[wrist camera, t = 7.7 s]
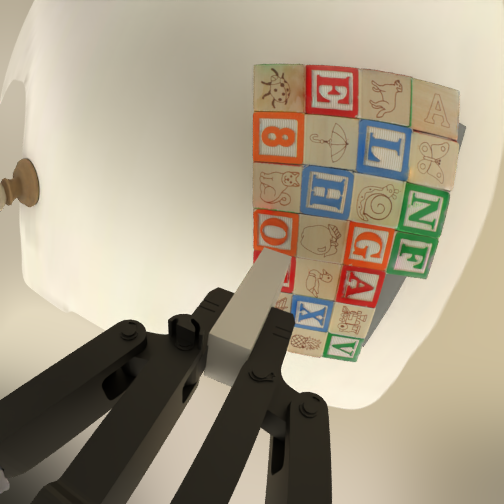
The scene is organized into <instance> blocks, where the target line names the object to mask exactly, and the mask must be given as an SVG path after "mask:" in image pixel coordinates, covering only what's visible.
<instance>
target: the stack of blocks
mask: <svg viewBox="0 0 504 504" xmlns="http://www.w3.org/2000/svg"><path fill="white" fill-rule="evenodd" d="M459 102H460V93H459V91H457V90H455V89H451V88H448V87H445V86H441V85H438V84H434V83H430V82H426V81H422V80H418V79H414V78H412V77H410V76H405V75H399V74H394V73H389V72H383V71H378V70H371V69H359V68H351V67H340V66H325V65H303V64H260V65H254V96H253V108H254V114H253V208H254V210H253V218H254V230H253V234H254V241H253V242H254V245H253V247H254V257H253V264H254V263H255V261H256V259H257V258H258V256H259V255H260V253H261V252H262V250H263V249H264V247H265V248H268V249H271V250H274V251H277V252H280V253H283V254H286V255H288V256H291V257H292V258H291V261H290V264H289V267H288V270H287V273H286V276H285V280H284V283H283V286H282V289H281V292H280V295H279V298H278V300H277V302H276V305H275V308H278V309H280V310H283V311H286V312H289V313H292V314H293V315H294V320H295V326H294V329H293V332H292V336H291V339H290V342H289V345H288V348H287V351H289V352H292V353H297V354H302V355H307V356H312V357H318V358H321V357H325V358H330V359H337V360H343V361H351V362H356V361H357V359H358V356H359V354H360V351H361V348H362V346H363V343H364V340H365V337H366V335H367V332H368V330H369V327H370V324H371V321H372V318H373V315H374V312H375V309H376V304H377V302H378V299H379V295H380V292H381V289H382V286H383V282H384V279H385V275H386V274H393V275H400V276H407V277H414V278H422V279H427V277H428V274H429V271H430V268H431V265H432V262H433V258H434V255H435V252H436V249H437V245H438V242H439V241H438V238H439V237H440V235H441V232H442V228H443V224H444V221H445V217H446V212H447V208H448V204H449V200H450V191H452V189H453V185H454V179H455V173H456V167H457V159H458V152H459V144H458V143H457V138H458V125H459Z"/></svg>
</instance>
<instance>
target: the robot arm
mask: <svg viewBox="0 0 504 504" xmlns="http://www.w3.org/2000/svg"><path fill="white" fill-rule="evenodd" d="M291 258H292V257H291V256H288V255H286V254H283V253H280V252H277V251H274V250H271V249H268V248H265V247H264V249H263V250H262V252H261V253H260V255H259V256H258V258H257V259H256V261H255V263H254V264H253V266H252V267H251V269H250V270H249V272H248V273H247V275H246V277H245V278H244V280H243V281H242V283H241V284H240V286H239V287H238V289H237V291H236V292H235V293H232V292H230V291H227V290H224V289H222V288H219V287H218V288H216V289H214V290H212V291H210V292H209V293H208V294H207V296H206V297H205V298H204V300H203V301H202V302H201V303H200V305H199V307H197V309H196V310H195V311H194V313H193V314H192V315H189V314H178V315H175V316H173V317H171V318H170V319H169V320H168V332H169V334H166V335H164V334H156V333H151V332H146V329H145V327H144V326H143V325H142V324H141V323H140V322H138V321H135V320H123V321H121V322H119V323H117V324H115V325H114V326H112V327H111V328H109V329H108V330H106V331H105V332H103V333H102V334H100V335H98V336H97V337H95V338H94V339H93V340H91V341H89V342H88V343H86V344H84V345H83V346H81V347H80V348H78V349H77V350H75V351H74V352H72V353H71V354H69V355H68V356H66V357H65V358H63V359H61V360H60V361H58V362H57V363H55V364H54V365H53V366H51V367H49V368H48V369H46V370H45V371H43V372H42V373H40V374H39V375H38V376H36V377H34V378H33V379H31V380H30V381H28V382H27V383H25V384H24V385H22V386H21V387H19V388H18V389H16V390H15V391H13V392H12V393H10V394H9V395H8V396H6V397H4V398H3V399H1V400H0V493H2V492H3V491H5V490H8V489H9V482H8V480H7V479H6V478H10V477H15V476H18V475H20V474H23V473H24V472H26V471H28V470H30V469H31V468H33V467H34V466H36V465H37V464H38V463H39V462H41V461H43V460H44V459H45V458H47V457H48V456H50V455H51V454H52V453H54V452H55V451H56V450H58V449H59V448H61V447H62V446H63V445H65V444H66V443H67V442H69V441H70V440H71V439H72V438H74V437H75V436H76V435H78V434H79V433H81V432H82V431H83V430H85V429H86V428H87V427H88V426H90V425H91V424H92V423H94V422H95V421H96V420H97V419H99V418H100V417H102V416H103V415H104V414H105V413H107V412H108V411H109V410H111V411H110V412H109V413H108V415H107V416H106V417H105V419H104V420H103V421H102V422H101V424H100V425H99V426H98V428H97V429H96V430H95V432H94V433H93V434H92V436H91V437H90V438H89V440H88V441H87V443H86V444H85V445H84V447H83V448H82V449H81V451H80V452H79V453H78V455H77V456H76V457H75V459H74V460H73V461H72V463H71V464H70V466H69V467H68V468H67V469H66V471H65V472H64V474H63V475H62V476H61V477H60V479H58V480H57V481H55V482H52V483H49V484H47V485H46V486H44V487H43V488H42V489H41V490H40V491H39V493H38V494H37V496H36V497H35V498H34V500H33V501H32V503H31V504H126V503H127V501H128V500H129V498H130V496H131V495H132V493H133V492H134V490H135V489H136V487H137V485H138V484H139V482H140V481H141V479H142V477H143V476H144V474H145V473H146V471H147V469H148V468H149V466H150V464H151V463H152V461H153V460H154V458H155V456H156V455H157V453H158V451H159V450H160V448H161V446H162V445H163V443H164V442H165V440H166V438H167V437H168V435H169V433H170V432H171V430H172V428H173V427H174V425H175V423H176V421H177V420H178V418H179V417H180V415H181V413H182V412H183V410H184V408H185V407H186V405H187V403H188V402H189V400H190V398H191V397H192V395H193V393H194V391H195V390H196V388H197V386H198V383H199V378H200V376H201V374H202V373H203V371H204V375H205V376H207V377H209V378H211V379H214V380H216V381H218V382H221V383H223V384H226V385H228V386H231V387H232V388H231V390H230V392H229V394H228V396H227V398H226V400H225V402H224V404H223V406H222V408H221V410H220V412H219V414H218V416H217V418H216V420H215V422H214V424H213V426H212V428H211V430H210V431H209V433H208V435H207V437H206V439H205V441H204V443H203V445H202V447H201V449H200V451H199V453H198V454H197V456H196V458H195V460H194V462H193V464H192V465H191V467H190V469H189V471H188V473H187V474H186V476H185V478H184V480H183V482H182V483H181V485H180V487H179V489H178V491H177V492H176V494H175V496H174V498H173V499H172V501H171V503H170V504H228V502H229V500H230V498H231V496H232V494H233V492H234V489H235V487H236V485H237V483H238V481H239V478H240V476H241V473H242V471H243V469H244V467H245V464H246V462H247V460H248V457H249V455H250V453H251V450H252V448H253V445H254V443H255V440H256V438H257V435H258V433H259V430H260V428H262V429H264V430H265V431H267V432H268V433H269V434H270V448H269V461H268V475H267V486H266V499H265V504H332V478H331V451H330V431H329V416H328V407H327V404H326V402H325V401H324V400H323V398H322V397H320V396H319V395H317V394H315V393H311V392H302V393H298V392H297V391H295V390H294V389H292V388H291V387H290V386H289V385H287V384H286V382H285V381H284V380H283V378H282V375H281V366H282V363H283V360H284V357H285V354H286V351H287V348H288V345H289V342H290V339H291V336H292V332H293V329H294V326H295V320H294V315H293V314H292V313H289V312H286V311H283V310H280V309H278V308H275V305H276V302H277V300H278V298H279V295H280V292H281V289H282V286H283V283H284V280H285V276H286V273H287V270H288V267H289V264H290V261H291Z"/></svg>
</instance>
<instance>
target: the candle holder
mask: <svg viewBox="0 0 504 504" xmlns="http://www.w3.org/2000/svg"><path fill="white" fill-rule="evenodd" d="M38 197H39V185H38V179H37V175H36V172H35V169H34V167H33V165H32V163H31V162H30V161H29V160H28V159H22V160H20V161H19V162H18V163H17V166H16V168H15V170H14V173H13V179H11V180H9V179H6V178H4V179H2V181H1V183H0V212H1V211H2V209H3V207H4V205H5V204H7V205H11V204H12V202H13V201H14V199H15V198H18V200H19V201H20V202H21V203H22V204H25V205H26V206H28V207H32V206H34V205H35V204H36V203H37V201H38Z"/></svg>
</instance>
